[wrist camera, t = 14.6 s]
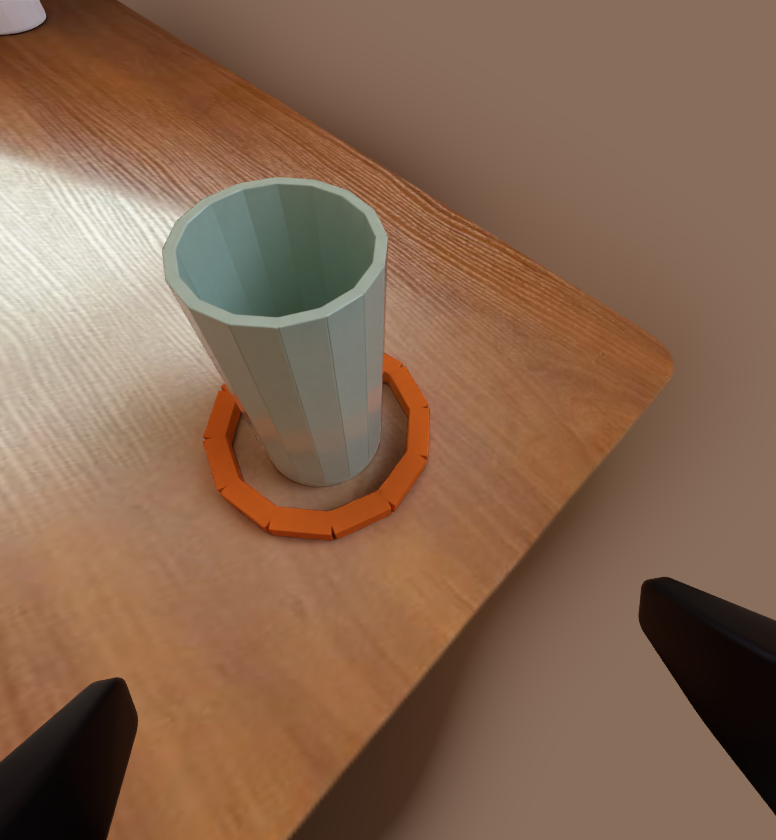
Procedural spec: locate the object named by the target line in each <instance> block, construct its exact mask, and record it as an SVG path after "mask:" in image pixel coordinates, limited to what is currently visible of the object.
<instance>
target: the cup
mask: <svg viewBox="0 0 776 840" xmlns="http://www.w3.org/2000/svg"><path fill="white" fill-rule="evenodd" d="M387 251H388V236H387V234H386V232H385V230H384V228H383V226H382V224H381V222H380V220H379V218H378V216H377V214H376V212H375V211H374V209H372V208H371V207H370V206H368V205H367V204H366V203H365V202H363V201H362V200H361V199H359V198H358V197H357V196H355V195H354V194H353V193H351V192H350V191H348V190H345V189H342V188H339V187H336V186H333V185H330V184H327V183H324V182H321V181H318V180H314V179H300V178H286V177H274V178H268V179H262V180H256V181H249V182H243V183H239V184H236V185H233V186H231V187H229V188H226V189H224V190H222V191H219V192H217V193H215V194H212V195H210V196H208V197H205V198H204V199H202V200H201V201H199V202H198V203H197V204H196V205H195V206H194V207H192V208H191V209H190V210H189V211H188V212H186V213H185V214H184V215H183V216H182V217H181V218H179V219H178V220H177V222H175V224H174V226H173V228H172V230H171V233H170V235H169V237H168V239H167V241H166V243H165V245H164V247H163V249H162V256H163V264H164V273H165V281H166V283H167V284H168V286H169V288H170V290H171V291H172V293H173V295H174V297H175V298H176V300H177V302H178V303H179V305H180V307H181V309H182V310H183V312H184V314H185V316H186V317H187V319H188V321H189V322H190V324H191V326H192V328H193V329H194V331H195V333H196V335H197V336H198V338H199V340H200V341H201V343H202V345H203V347H204V348H205V350H206V352H207V354H208V355H209V357H210V359H211V360H212V362H213V364H214V366H215V367H216V369H217V371H218V372H219V374H220V376H221V378H222V379H223V381H224V383H225V385H226V386H227V388H228V390H229V391H230V393H231V395H232V397H233V398H234V400H235V402H236V404H237V405H238V407H239V409H240V410H241V412H242V414H243V416H244V417H245V419H246V421H247V423H248V424H249V426H250V428H251V429H252V431H253V433H254V435H255V436H256V438H257V440H258V442H259V443H260V445H261V447H262V448H263V450H264V452H265V454H266V455H267V456H268V458H269V459H270V460H271V462H272V463H273V465H274V466H275V467H276V468H277V470H278V471H279V472H280V473H282V474H283V475H284V476H285V477H287V478H289V479H290V480H292V481H295V482H297V483H300V484H303V485H307V486H315V487H324V486H332V485H336V484H340V483H342V482H345V481H347V480H349V479H351V478H353V477H355V476H356V475H357V474H359V473H360V472H361V471H363V470H364V469H365V468H366V467H367V466H368V464H369V463H370V462H371V461H372V459H373V458H374V456H375V454H376V452H377V450H378V447H379V444H380V439H381V427H382V406H383V375H384V344H385V313H386V282H387Z"/></svg>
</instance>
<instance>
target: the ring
mask: <svg viewBox="0 0 776 840" xmlns="http://www.w3.org/2000/svg"><path fill="white" fill-rule="evenodd" d="M402 365H403V364H402V363H401V362H400V361H398V360H396V359H395V358H393V357H391V356H389V355H388V354H386V353H384V375H383V381H384V382H385V383H387V384H389V385H390V387H391V389H392V391H393V393H394V394H395V396H396V398H397V400H398V401H399V403H400V405H401V407H402V409H403V410H404V412H405V414H406V416H407V418H408V425H407V440H406V453H405V454H404V456H403V457H402V458H401V460H400V461H399V462H398V464H397V465H396V467H395V468H394V469H393V471H392V472H391V473H390V475H389V476H388V477H387V479H386V480H385V481H384V483H383V484H382V486H381V487H380V488H379V490H378V491H375V492H373V493H371V494H369V495H366V496H364V497H362V498H359V499H357V500H355V501H353V502H350V503H348V504H346V505H344V506H341V507H339V508H337V509H335V510H332V511H319V510H308V509H297V508H285V507H277V506H276V505H274V504H273V503H272V502H270V501H269V500H268V499H266V498H265V497H264V496H262V495H261V494H260V493H258V492H257V491H256V490H254V489H253V488H252V487H250V486H249V485H248V484H246V483H245V482H244V481H243V478H242V475H241V472H240V469H239V466H238V463H237V459H236V456H235V453H234V450H233V447H232V441H233V438H234V435H235V431H236V428H237V424H238V421H239V418H240V414H241V410H240V409H239V407H238V405H237V404H236V402H235V400H234V398H233V397H232V395H231V393H230V391H229V390H228V388H227V386H226V385H225V384H223V385H222V386H221V388H222V390H223V391H221V390H219V391H218V394H217V397H216V400H215V403H214V406H213V409H212V412H211V415H210V418H209V421H208V424H207V427H206V430H205V433H204V436H203V437H204V439H205V440H204V441H203V444H204V447H205V451H206V454H207V457H208V461H209V464H210V468H211V471H212V475H213V478H214V482H215V485H216V489H217V490H218V491H219V492H220V495H221V496H222V497H223V498H224V499H225V500H226V501H228V502H229V503H230V504H231V505H233V506H234V507H235V508H237V509H238V510H239V511H241V512H242V513H243V514H244V515H246V516H247V517H248V518H250V519H251V520H252V521H253V522H255V523H256V524H257V525H259V526H260V527H261V528H262V529H264V530H265V531H266V532H268V533H270V532H271V533H272V534H273V535H276V536H288V537H299V538H310V539H321V540H333V535H334V534H335V537H336V539H340V538H342V537H344V536H346V535H348V534H350V533H353V532H355V531H357V530H359V529H361V528H363V527H366V526H368V525H370V524H372V523H374V522H376V521H379V520H381V519H383V518H385V517H387V516H389V515H390V514H391V511H393V512H395V510H396V509H397V507H398V506H399V504H400V503H401V502H402V500H403V499H404V497H405V496H406V494H407V493H408V492H409V490H410V489H411V487H412V486H413V484H414V483H415V482H416V480H417V479H418V477H419V476H420V474H421V473H422V472H423V470H424V468H425V465H426V462H427V458H428V446H429V420H430V409H429V408H428V403H427V401H426V399H425V398H424V396H423V394H422V393H421V391H420V389H419V388H418V386H417V384H416V383H415V381H414V379H413V378H412V376H411V374H410V373H409V371H408V369H407V368H406V366H403V367H402Z"/></svg>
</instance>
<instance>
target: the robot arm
mask: <svg viewBox="0 0 776 840" xmlns="http://www.w3.org/2000/svg"><path fill="white" fill-rule="evenodd" d="M639 622H640V625H641V628H642V630H643V632H644V633H645V635H646V636H647V638H648V639H649V641H650V642H651V644H652V645H653V647H654V648H655V650H656V651H657V653H658V654H659V656H660V658H661V659H662V661H663V662H664V664H665V665H666V667H667V668H668V670H669V671H670V673H671V674H672V676H673V677H674V679H675V680H676V682H677V683H678V685H679V686H680V688H681V689H682V691H683V692H684V694H685V696H686V697H687V698H688V700H689V702H690V703H691V704H692V706H693V707H694V709H695V710H696V712H697V713H698V715H699V716H700V717H701V719H702V720H703V722H704V723H705V724H706V726H707V727H708V728H709V730H710V731H711V732H712V734H713V735H714V736H715V738H716V739H717V740H718V741H719V743H720V744H721V745H722V747H723V748H724V749H725V751H726V752H727V753H728V755H729V756H730V757H731V758H732V760H733V761H734V762H735V764H736V765H737V766H738V767H739V769H740V770H741V771H742V772H743V774H744V775H745V776H746V778H747V779H748V780H749V781H750V783H751V784H752V785H753V787H754V788H755V789H756V791H757V792H758V793H759V794H760V796H761V797H762V798H763V800H764V801H765V802H766V803H767V804H768V806H769V807H770V808H771V810H772V811H773V812H774V814H775V815H776V621H775V620H773V619H770V618H768V617H765V616H763V615H760V614H758V613H756V612H753V611H751V610H748V609H745V608H743V607H741V606H738V605H736V604H733V603H731V602H728V601H726V600H723V599H721V598H719V597H716V596H714V595H711V594H708V593H706V592H704V591H701V590H699V589H696V588H694V587H691V586H689V585H686V584H684V583H681V582H679V581H677V580H674V579H672V578H669V577H660V578H655V579H649V580H646V581H644V583H643V584H642V587H641V596H640V606H639ZM137 726H138V716H137V711H136V709H135V706H134V703H133V701H132V698H131V695H130V692H129V690H128V687H127V684H126V682H125V680H123V679H122V678H118V677H117V678H111V679H106V680H100V681H96V682H93V683H92V684H90V685H89V686H88V687H86V688H85V689H84V690H83V691H82V692H80V693H79V694H78V695H77V696H76V697H75V698H74V699H72V700H71V701H70V702H69V703H68V704H67V705H66V706H64V707H63V708H62V709H61V710H60V711H59V712H57V713H56V714H55V715H54V716H53V717H52V718H51V719H49V720H48V721H47V722H46V723H45V724H44V725H43V726H41V727H40V728H39V729H38V730H37V731H36V732H34V733H33V734H32V735H31V736H30V737H29V738H28V739H26V740H25V741H24V742H23V743H22V744H21V745H19V746H18V747H17V748H16V749H15V750H14V751H13V752H11V753H10V754H9V755H8V756H7V757H6V758H5V759H3V760H2V761H1V762H0V840H107V836H108V833H109V829H110V826H111V822H112V819H113V815H114V811H115V808H116V804H117V801H118V797H119V793H120V790H121V786H122V783H123V779H124V775H125V772H126V768H127V765H128V761H129V757H130V754H131V750H132V746H133V743H134V739H135V736H136V732H137Z"/></svg>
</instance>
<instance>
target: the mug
mask: <svg viewBox="0 0 776 840" xmlns="http://www.w3.org/2000/svg"><path fill="white" fill-rule="evenodd" d="M45 19H46V14H45V11H44V9H43V7H42V5H41V3H40V1H39V0H0V35H7V34H15V33H20V32H24V31H28V30H30V29H33V28H35V27H37V26H39V25H40V24H42V23H43V22H44V21H45Z"/></svg>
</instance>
